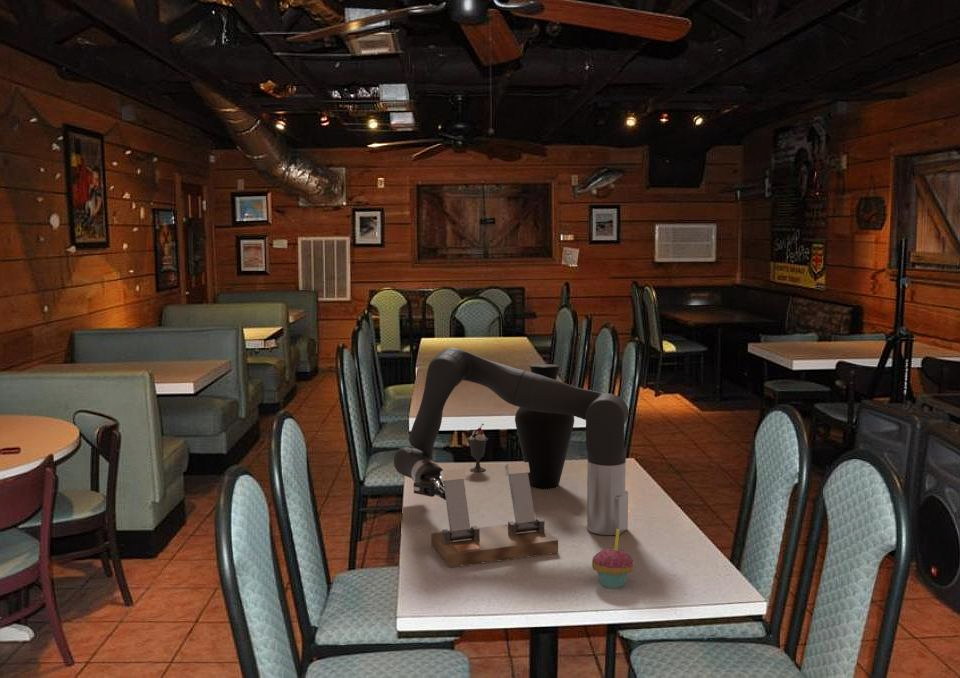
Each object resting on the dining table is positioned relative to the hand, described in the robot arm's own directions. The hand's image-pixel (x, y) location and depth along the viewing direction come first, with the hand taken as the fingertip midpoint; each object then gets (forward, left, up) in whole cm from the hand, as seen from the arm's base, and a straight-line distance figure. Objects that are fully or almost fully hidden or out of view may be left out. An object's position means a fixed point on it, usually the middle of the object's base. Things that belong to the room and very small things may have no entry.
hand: (447, 495), depth 196 cm
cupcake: (-43, +4, -11) cm, 45 cm away
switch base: (-12, -1, -11) cm, 16 cm away
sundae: (+26, -56, -11) cm, 63 cm away
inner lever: (-18, -6, -7) cm, 20 cm away
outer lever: (-7, +6, -8) cm, 12 cm away
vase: (+1, -52, -11) cm, 53 cm away
